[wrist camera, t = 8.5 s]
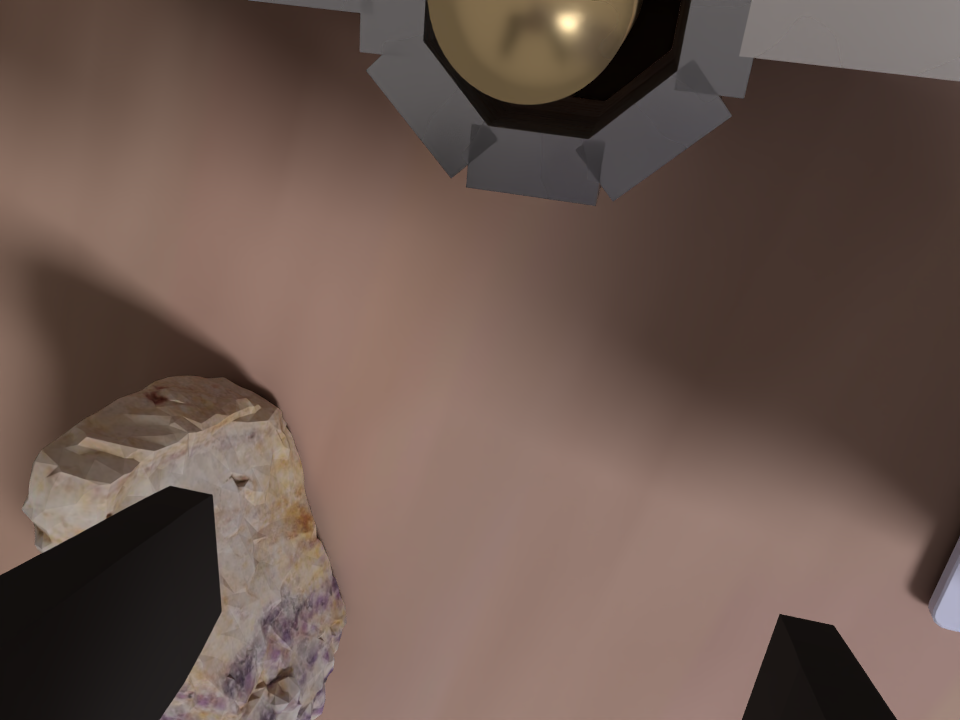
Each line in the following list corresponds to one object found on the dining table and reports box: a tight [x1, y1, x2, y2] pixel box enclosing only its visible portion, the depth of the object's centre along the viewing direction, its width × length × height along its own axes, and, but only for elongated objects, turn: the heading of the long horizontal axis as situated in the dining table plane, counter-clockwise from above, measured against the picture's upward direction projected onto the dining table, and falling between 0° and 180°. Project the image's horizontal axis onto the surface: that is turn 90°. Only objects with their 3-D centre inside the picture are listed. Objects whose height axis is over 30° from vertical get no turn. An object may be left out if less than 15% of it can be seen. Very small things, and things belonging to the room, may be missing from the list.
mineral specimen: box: [22, 376, 346, 720], centre depth 21 cm, size 13×7×6 cm, turn 11°
